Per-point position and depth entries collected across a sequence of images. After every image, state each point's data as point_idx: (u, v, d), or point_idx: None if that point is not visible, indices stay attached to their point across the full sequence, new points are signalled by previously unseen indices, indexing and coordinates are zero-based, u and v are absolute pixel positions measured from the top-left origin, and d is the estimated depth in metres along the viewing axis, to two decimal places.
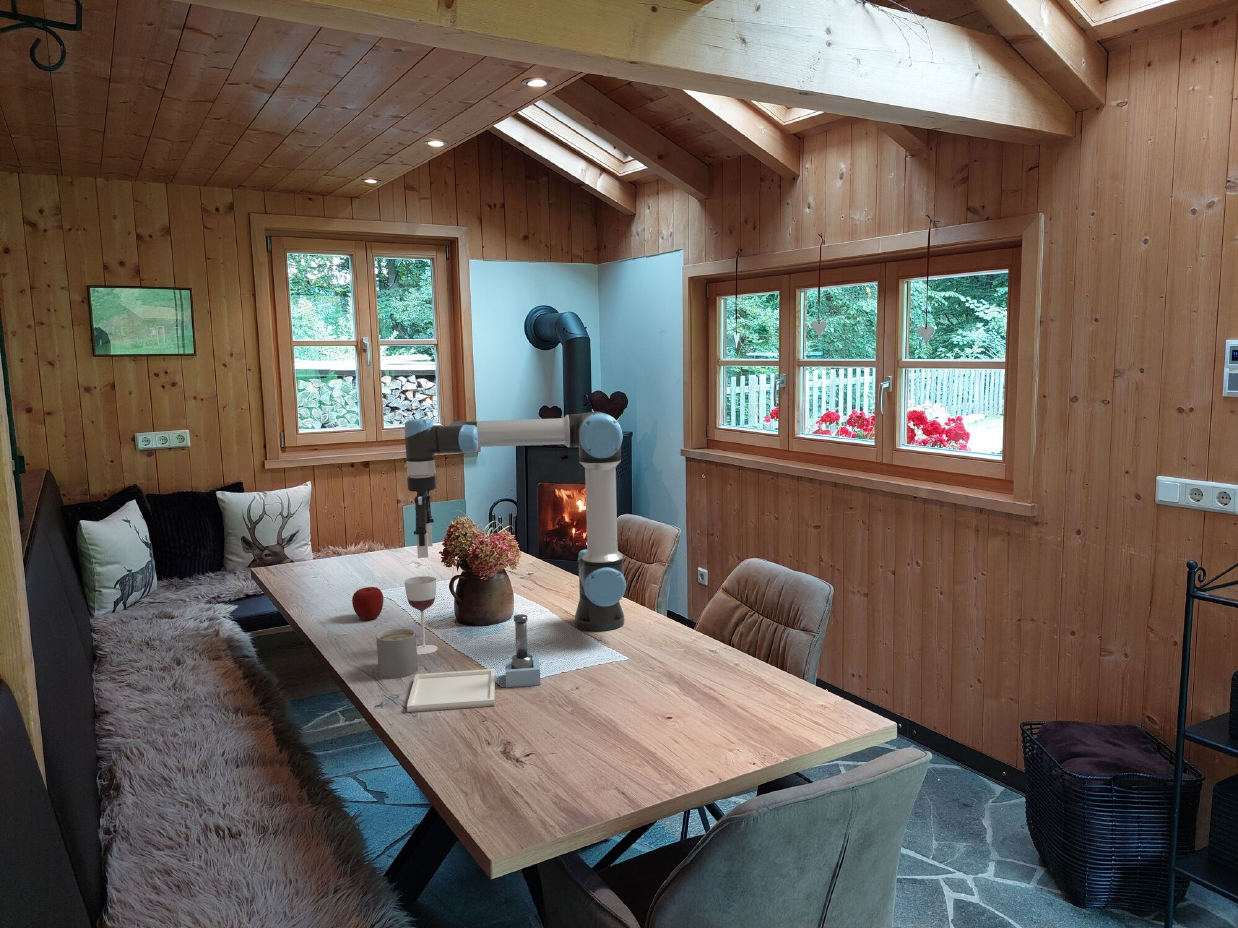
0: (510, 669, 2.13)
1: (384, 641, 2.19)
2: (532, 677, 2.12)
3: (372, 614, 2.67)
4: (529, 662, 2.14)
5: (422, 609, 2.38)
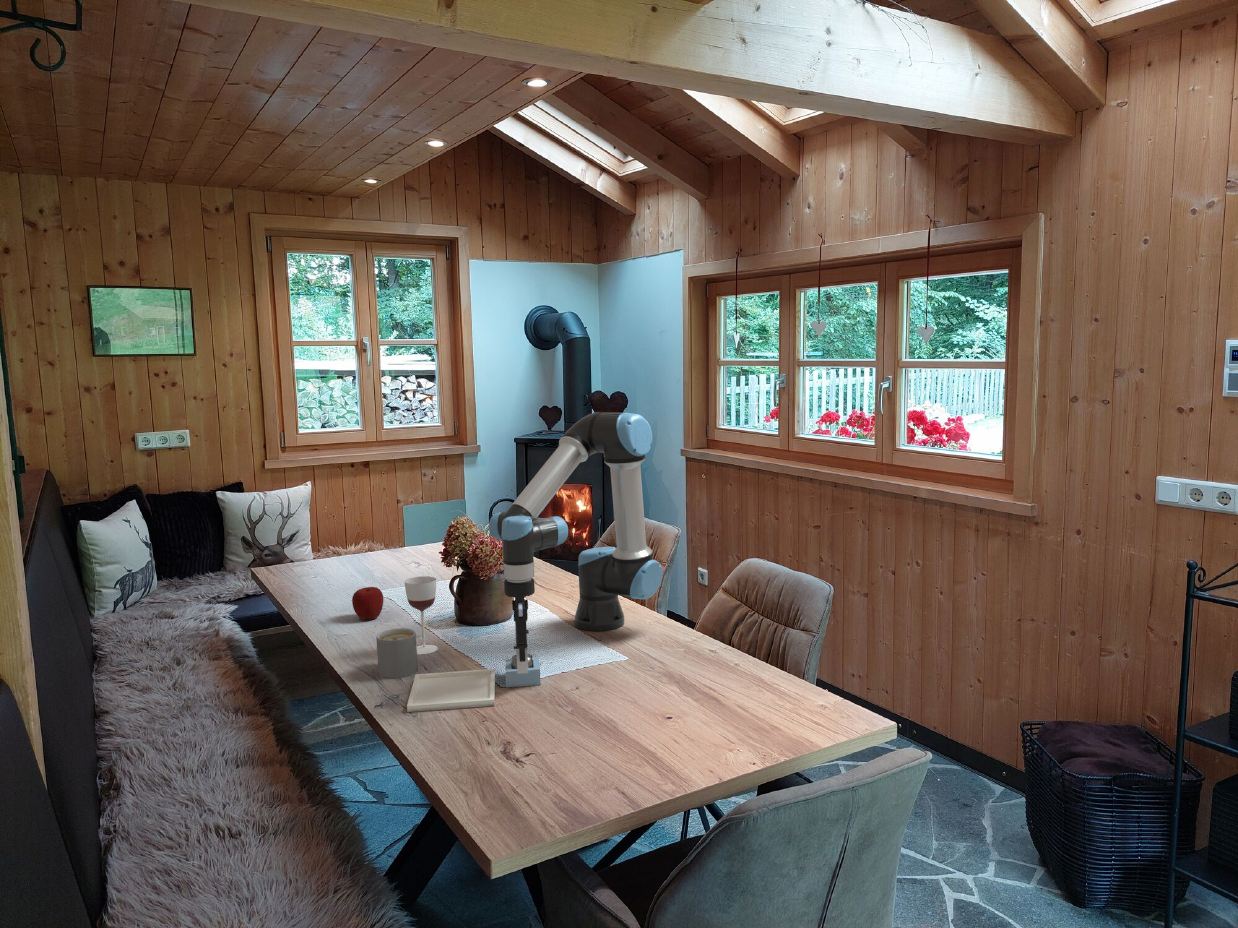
0: (510, 669, 2.13)
1: (384, 641, 2.19)
2: (532, 677, 2.12)
3: (372, 614, 2.67)
4: (529, 662, 2.14)
5: (422, 609, 2.38)
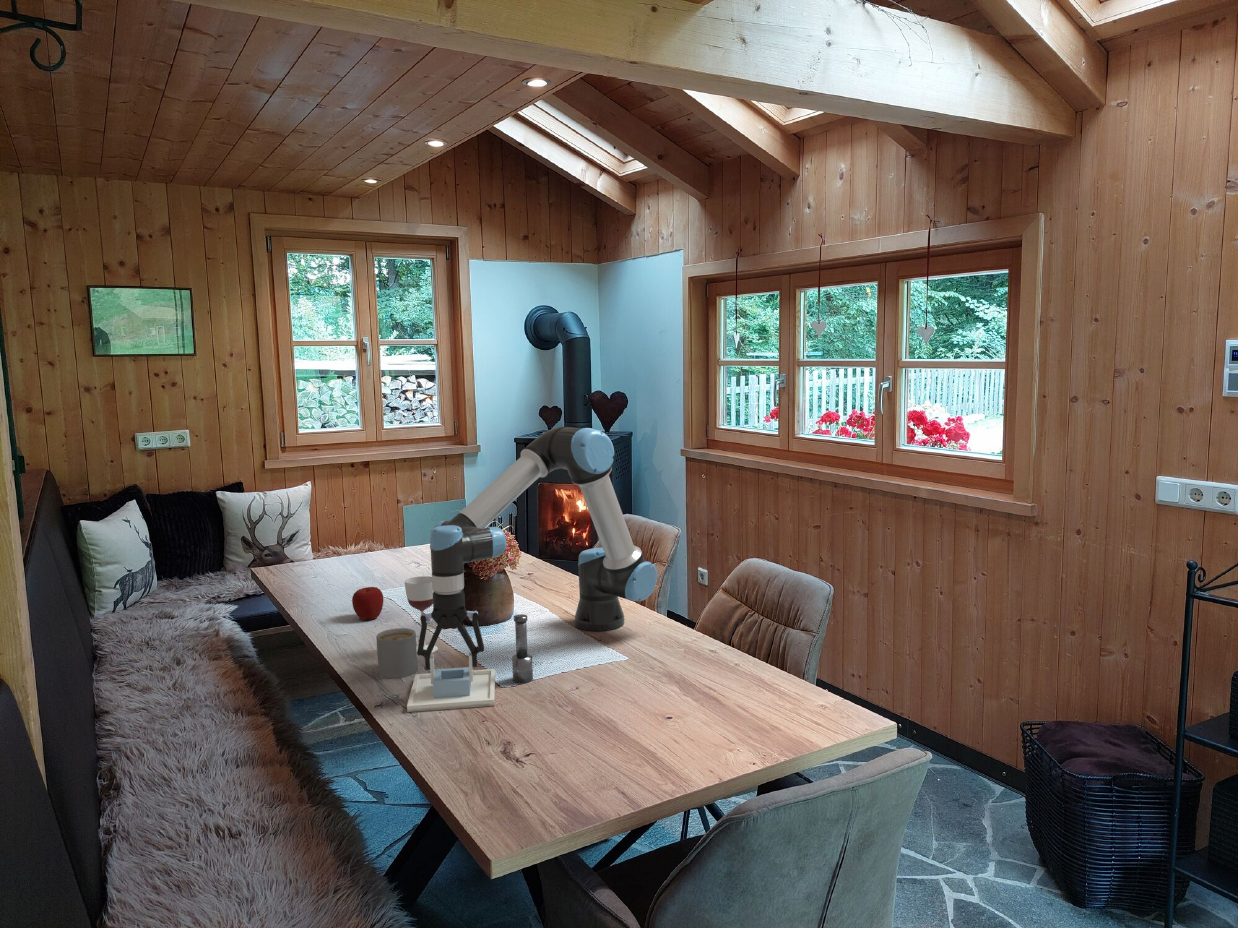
0: (440, 670, 2.11)
1: (384, 641, 2.19)
2: None
3: (372, 614, 2.67)
4: (529, 662, 2.14)
5: (422, 609, 2.38)
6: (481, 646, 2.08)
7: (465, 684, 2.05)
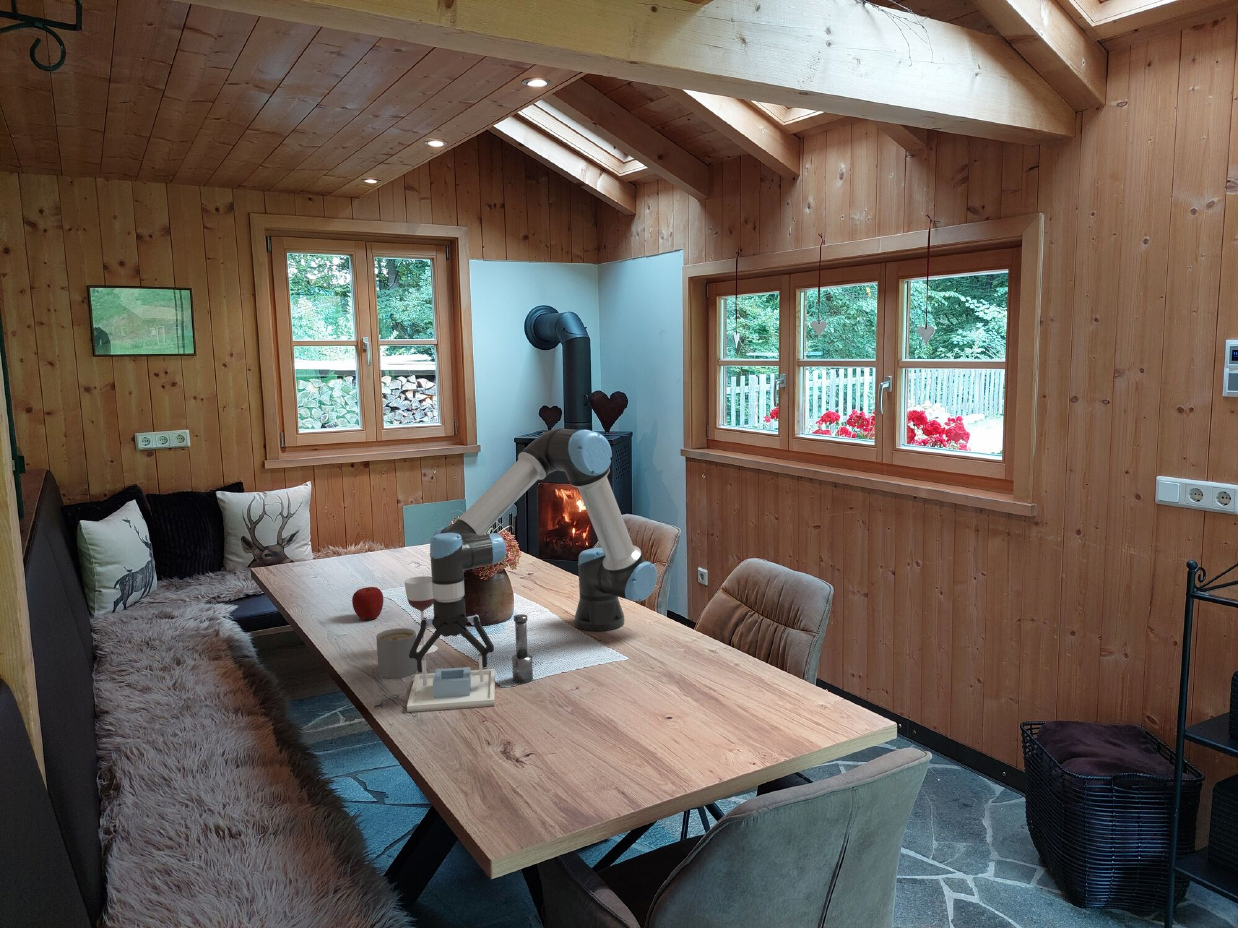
0: (440, 670, 2.11)
1: (384, 641, 2.19)
2: None
3: (372, 614, 2.67)
4: (529, 662, 2.14)
5: (422, 609, 2.38)
6: (490, 647, 2.08)
7: (465, 684, 2.05)
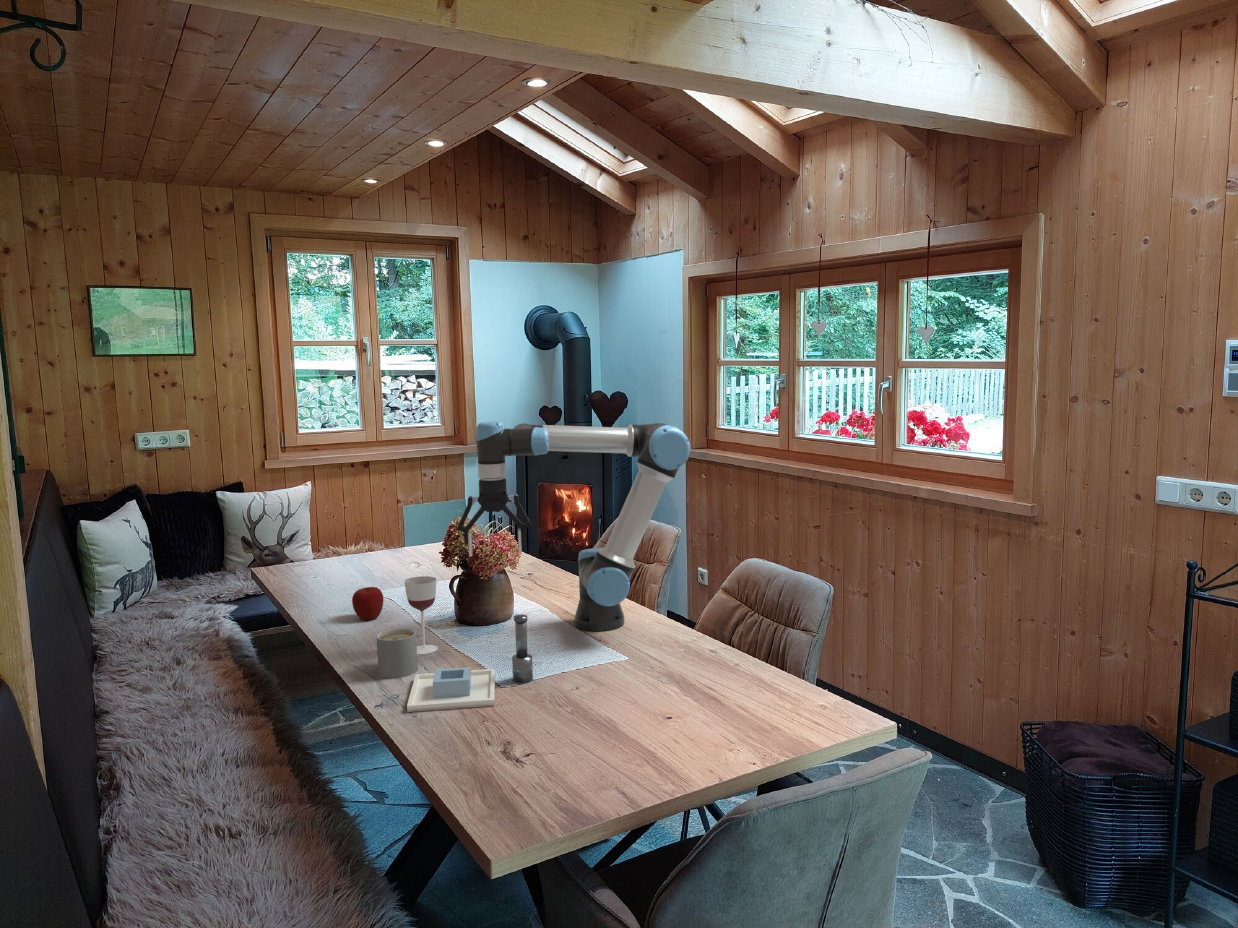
0: (440, 670, 2.11)
1: (384, 641, 2.19)
2: None
3: (372, 614, 2.67)
4: (529, 662, 2.14)
5: (422, 609, 2.38)
6: (528, 522, 2.37)
7: (465, 684, 2.05)
